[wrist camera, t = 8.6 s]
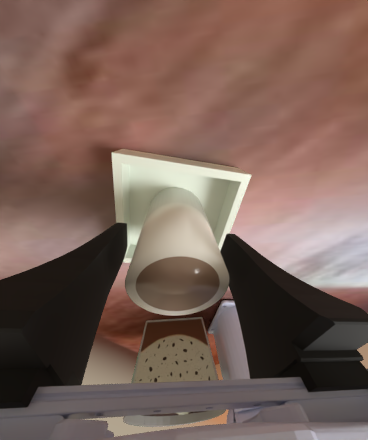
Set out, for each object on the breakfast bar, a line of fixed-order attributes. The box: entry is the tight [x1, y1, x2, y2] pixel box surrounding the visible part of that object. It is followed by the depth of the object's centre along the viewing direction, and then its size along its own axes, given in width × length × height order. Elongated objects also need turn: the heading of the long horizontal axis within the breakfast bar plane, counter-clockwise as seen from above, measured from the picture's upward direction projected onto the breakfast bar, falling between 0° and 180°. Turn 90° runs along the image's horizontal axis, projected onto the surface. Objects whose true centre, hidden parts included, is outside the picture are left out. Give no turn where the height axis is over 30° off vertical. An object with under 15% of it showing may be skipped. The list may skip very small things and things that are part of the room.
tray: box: [112, 149, 251, 263], centre depth 14 cm, size 10×10×3 cm
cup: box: [125, 187, 229, 316], centre depth 11 cm, size 5×5×8 cm
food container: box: [123, 317, 226, 427], centre depth 22 cm, size 12×6×10 cm, turn 90°
